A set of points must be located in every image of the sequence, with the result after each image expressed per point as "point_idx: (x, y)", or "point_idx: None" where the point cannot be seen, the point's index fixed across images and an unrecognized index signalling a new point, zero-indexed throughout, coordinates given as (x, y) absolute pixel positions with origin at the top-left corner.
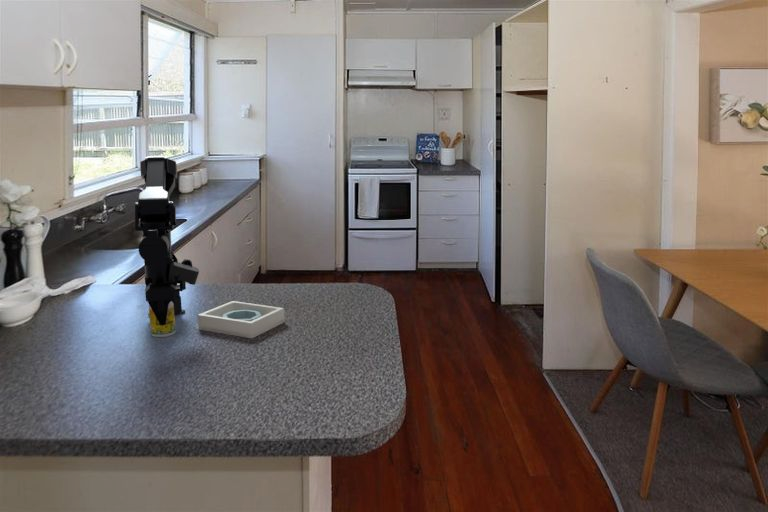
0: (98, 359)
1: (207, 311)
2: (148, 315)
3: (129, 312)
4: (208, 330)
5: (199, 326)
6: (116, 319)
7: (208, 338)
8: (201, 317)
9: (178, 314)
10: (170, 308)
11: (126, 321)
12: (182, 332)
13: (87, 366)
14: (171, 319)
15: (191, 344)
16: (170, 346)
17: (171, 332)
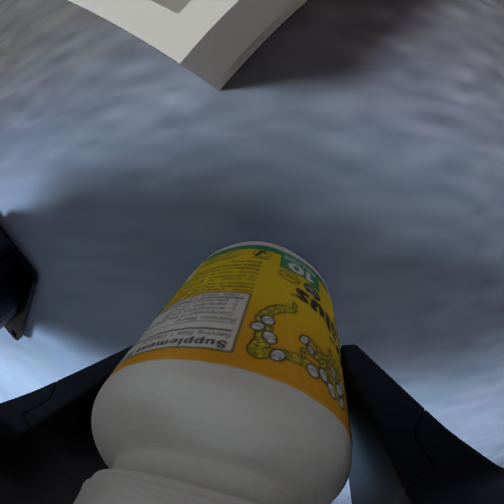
0: None
1: (110, 9)
2: (21, 337)
3: (11, 372)
4: (275, 28)
5: (221, 78)
6: None
7: (424, 48)
8: (214, 36)
9: (1, 228)
10: (318, 394)
11: None
12: (256, 194)
13: None
14: (313, 313)
15: (496, 159)
16: (483, 269)
17: (315, 271)
